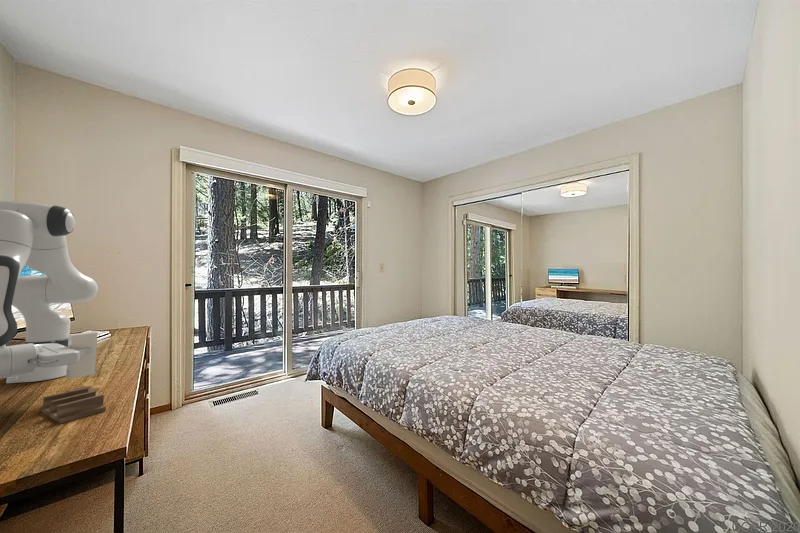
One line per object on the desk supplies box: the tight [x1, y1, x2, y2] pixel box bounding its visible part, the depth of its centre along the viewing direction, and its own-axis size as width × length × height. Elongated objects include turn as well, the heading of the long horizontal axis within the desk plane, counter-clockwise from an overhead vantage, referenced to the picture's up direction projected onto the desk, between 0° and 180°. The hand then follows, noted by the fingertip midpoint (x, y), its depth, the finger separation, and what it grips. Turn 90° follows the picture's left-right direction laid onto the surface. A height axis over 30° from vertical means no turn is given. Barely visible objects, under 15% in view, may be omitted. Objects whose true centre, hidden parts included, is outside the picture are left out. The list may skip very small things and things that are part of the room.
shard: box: [65, 385, 101, 392], centre depth 97 cm, size 11×8×2 cm
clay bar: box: [65, 331, 98, 380], centre depth 99 cm, size 3×6×14 cm, turn 153°
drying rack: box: [39, 387, 107, 425], centre depth 86 cm, size 16×9×4 cm, turn 63°
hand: (88, 349), depth 100 cm, fingers closed on clay bar, 3 cm apart
